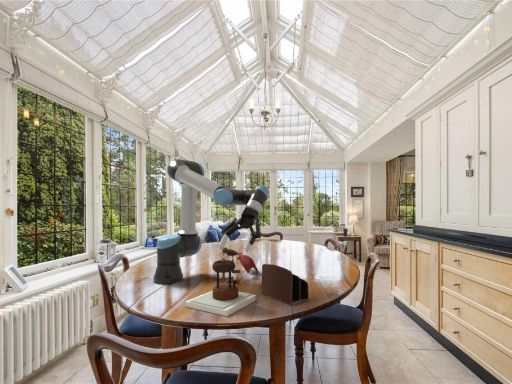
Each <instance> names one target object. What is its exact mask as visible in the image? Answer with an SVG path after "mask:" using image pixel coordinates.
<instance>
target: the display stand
mask: <svg viewBox="0 0 512 384" xmlns="http://www.w3.org/2000/svg"><path fill="white" fill-rule="evenodd" d="M256 299H257V295H256V294H251V293H249V292H244V291H243V292H241V291H238V298H236V299H234V300H228V301H220V300H215V299H213V290H211V291H209V292H206V293H203V294H201V295H198V296H196V297H193V298H190V299H188V300H186V301H185V302H184V303H185V308H191V309H193V310H199V311H203V312H206V313H210V314H211V313H212V314H216V315H219V316H224V317H228V316H230V315H232V314H234V313H235V312H237V311H238V310H239V311H240V310H241V309H242V308H244V307H246V306H249V305H250V304H252V303H254V302H255V301H257V300H256Z"/></svg>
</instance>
